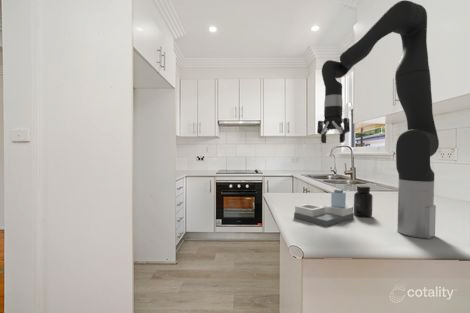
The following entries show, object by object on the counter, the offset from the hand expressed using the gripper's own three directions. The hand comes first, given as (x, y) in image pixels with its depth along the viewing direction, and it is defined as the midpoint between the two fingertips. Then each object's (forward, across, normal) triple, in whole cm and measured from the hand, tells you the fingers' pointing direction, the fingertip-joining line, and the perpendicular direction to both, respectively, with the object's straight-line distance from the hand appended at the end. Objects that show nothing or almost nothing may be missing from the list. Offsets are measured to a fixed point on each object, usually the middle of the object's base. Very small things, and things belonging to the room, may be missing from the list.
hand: (332, 142), depth 111 cm
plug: (+28, -9, +10) cm, 31 cm away
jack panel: (+30, -6, +15) cm, 34 cm away
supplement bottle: (+30, -13, -2) cm, 33 cm away
